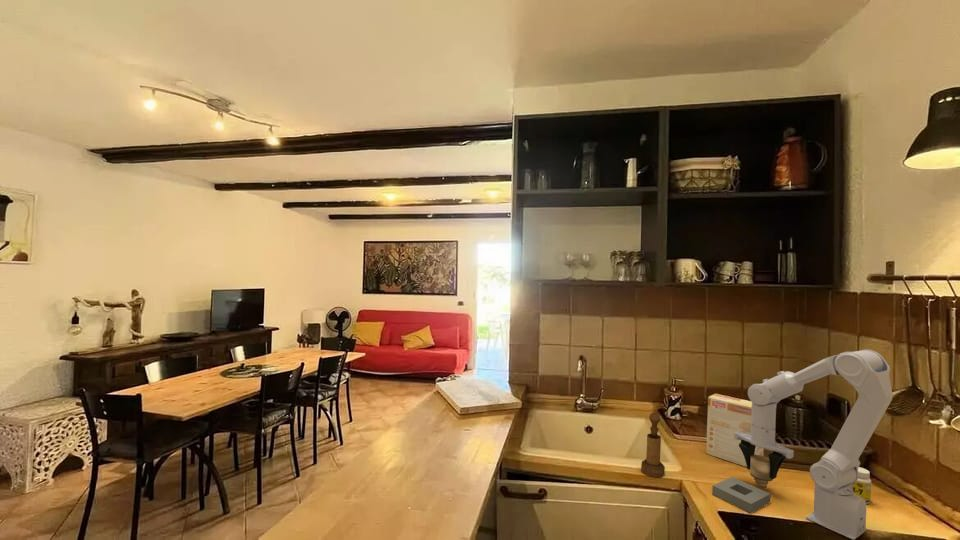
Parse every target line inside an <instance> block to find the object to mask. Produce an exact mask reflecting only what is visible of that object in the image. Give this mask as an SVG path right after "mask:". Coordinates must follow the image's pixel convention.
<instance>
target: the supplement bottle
mask: <svg viewBox="0 0 960 540" xmlns="http://www.w3.org/2000/svg"><path fill="white" fill-rule="evenodd" d="M870 472H871V471H869V470H868V469H866V468H864V467H860V466H859V467H858V474H859V477H858V480H857V481H856V482H855V483H852V488H853V493H854V494H856V495H857V496H859V497H861V498H863V499H864V500H865V501H866V505H869V504H870V503H871V497H872V496H871V495H872V479H871V478H870V475H871V473H870Z"/></svg>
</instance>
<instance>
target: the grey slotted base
mask: <svg viewBox="0 0 960 540" xmlns="http://www.w3.org/2000/svg"><path fill="white" fill-rule="evenodd" d="M711 488H712V489H711V491H712V492H711V493H712V496H715V497H716V498H718V499H721V500H723V501H725V502H727V503H729V504H731V505H733V506H735V507H737V508H739V509H740V510H743V511H744V512H747V513H749V514H752V512H753V513H754V511H755V512H756V511H758V510H759V508H760V509H761V507H762V508H763V506H764V505H766V504H768V503H769V502H770V503H771V500H772V499H771V493H770V492H769V491H765V490H764V489H761V488H759V487H758V486H757V487H756V486H754V485H751V484H749V483H747V482H745V481H743V480H740V479H738V478H737V477H734V476H731V477H729V478H726V479H723V480H721V481H720V482H717V483H715V484H713V485H712V486H711ZM770 503H769V504H770ZM769 504H768V505H769ZM766 506H767V505H766ZM764 507H765V506H764Z"/></svg>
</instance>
